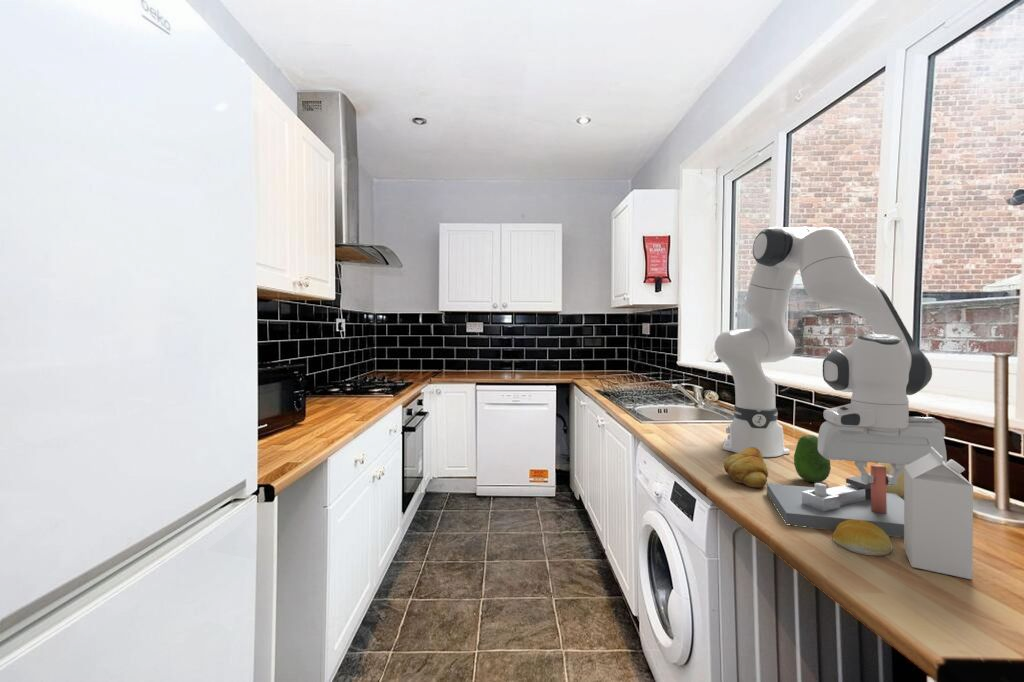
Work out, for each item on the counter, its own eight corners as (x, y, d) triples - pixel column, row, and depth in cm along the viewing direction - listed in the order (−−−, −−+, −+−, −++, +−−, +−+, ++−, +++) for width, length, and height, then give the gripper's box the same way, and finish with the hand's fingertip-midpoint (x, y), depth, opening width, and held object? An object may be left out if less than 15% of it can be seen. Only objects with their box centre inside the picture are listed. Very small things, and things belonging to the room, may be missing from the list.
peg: (869, 508, 89) (868, 464, 89) (883, 509, 89) (883, 465, 89) (873, 512, 87) (873, 467, 87) (888, 514, 86) (888, 468, 86)
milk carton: (911, 568, 72) (912, 454, 71) (903, 549, 78) (903, 443, 77) (972, 581, 68) (973, 460, 68) (959, 560, 74) (960, 449, 73)
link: (823, 511, 88) (823, 499, 88) (801, 503, 93) (801, 491, 92) (869, 501, 92) (869, 490, 92) (846, 494, 97) (846, 482, 97)
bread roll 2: (829, 547, 80) (829, 526, 80) (839, 530, 86) (838, 510, 86) (889, 564, 74) (889, 540, 74) (894, 544, 80) (894, 523, 80)
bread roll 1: (775, 492, 106) (775, 459, 105) (731, 489, 108) (731, 457, 108) (759, 474, 118) (759, 445, 118) (720, 472, 121) (720, 443, 120)
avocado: (790, 475, 116) (790, 430, 116) (825, 478, 114) (825, 432, 113) (798, 485, 109) (798, 438, 109) (836, 489, 106) (835, 440, 106)
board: (767, 493, 104) (766, 464, 104) (895, 504, 96) (895, 473, 96) (786, 525, 88) (786, 490, 88) (942, 541, 80) (942, 503, 80)
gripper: (934, 414, 87) (934, 482, 87) (814, 410, 93) (814, 474, 94) (955, 421, 81) (954, 494, 81) (825, 416, 87) (825, 484, 88)
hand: (878, 483), depth 88 cm, fingers closed on peg, 2 cm apart
